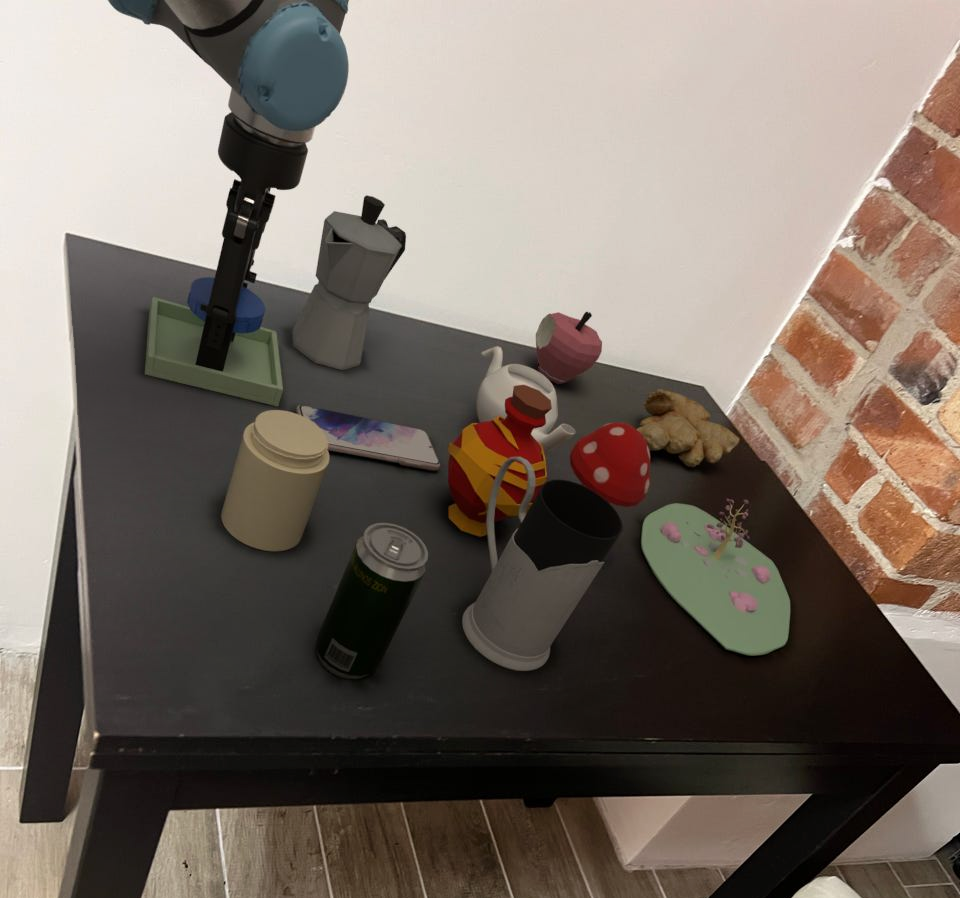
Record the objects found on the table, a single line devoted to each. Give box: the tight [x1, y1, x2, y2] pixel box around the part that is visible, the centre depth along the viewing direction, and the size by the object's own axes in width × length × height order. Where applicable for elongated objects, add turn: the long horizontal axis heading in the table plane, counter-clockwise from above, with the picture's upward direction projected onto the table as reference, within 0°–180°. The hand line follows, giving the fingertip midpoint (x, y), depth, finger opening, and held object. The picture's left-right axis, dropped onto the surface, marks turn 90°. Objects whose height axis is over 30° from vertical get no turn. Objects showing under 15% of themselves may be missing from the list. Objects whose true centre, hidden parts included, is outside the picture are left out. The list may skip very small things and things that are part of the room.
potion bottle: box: [447, 385, 552, 538], centre depth 89 cm, size 10×10×15 cm
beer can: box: [315, 522, 429, 680], centre depth 69 cm, size 5×5×12 cm
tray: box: [144, 296, 284, 407], centre depth 95 cm, size 13×12×2 cm
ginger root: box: [636, 388, 741, 468], centre depth 126 cm, size 16×16×8 cm
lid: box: [186, 277, 266, 333], centre depth 92 cm, size 7×7×2 cm
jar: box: [220, 409, 331, 552], centre depth 77 cm, size 7×7×10 cm
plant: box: [640, 498, 791, 657], centre depth 103 cm, size 25×21×9 cm
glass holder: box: [461, 457, 623, 672], centre depth 80 cm, size 9×14×15 cm, turn 32°
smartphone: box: [295, 404, 441, 472], centre depth 96 cm, size 7×1×15 cm
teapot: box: [475, 345, 576, 456], centre depth 105 cm, size 10×20×9 cm, turn 26°
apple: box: [535, 311, 603, 385], centre depth 125 cm, size 10×9×10 cm
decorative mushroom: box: [569, 421, 651, 508], centre depth 93 cm, size 10×9×15 cm
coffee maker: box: [291, 194, 407, 371], centre depth 103 cm, size 15×9×18 cm, turn 147°
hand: (215, 352), depth 95 cm, fingers closed on lid, 7 cm apart
